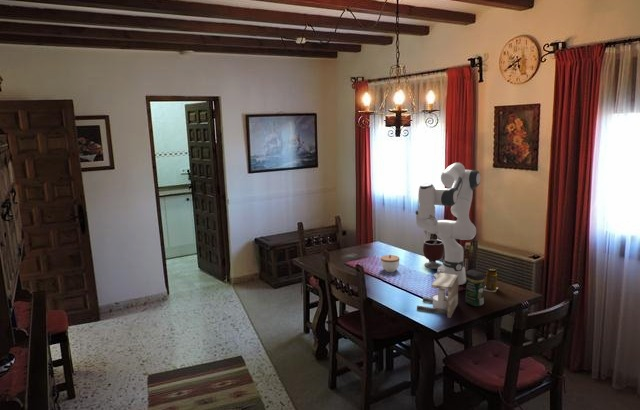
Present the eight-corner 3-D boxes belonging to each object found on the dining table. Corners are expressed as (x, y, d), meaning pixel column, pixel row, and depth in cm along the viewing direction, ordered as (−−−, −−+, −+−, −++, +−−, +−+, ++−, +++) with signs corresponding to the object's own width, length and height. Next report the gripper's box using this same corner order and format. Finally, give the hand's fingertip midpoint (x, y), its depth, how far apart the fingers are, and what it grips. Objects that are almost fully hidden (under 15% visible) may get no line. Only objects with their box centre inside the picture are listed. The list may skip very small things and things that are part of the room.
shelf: (415, 312, 233) (415, 282, 230) (424, 298, 251) (425, 271, 248) (450, 317, 225) (451, 287, 222) (457, 303, 242) (458, 275, 239)
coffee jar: (462, 302, 244) (463, 270, 241) (472, 299, 248) (473, 267, 245) (475, 308, 236) (476, 275, 233) (486, 304, 239) (487, 272, 236)
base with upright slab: (449, 312, 231) (449, 291, 229) (431, 311, 234) (432, 289, 232) (450, 306, 239) (451, 285, 237) (433, 304, 242) (434, 283, 240)
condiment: (498, 287, 263) (499, 268, 261) (495, 292, 256) (496, 272, 254) (485, 285, 267) (486, 266, 265) (482, 290, 260) (483, 270, 258)
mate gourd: (421, 262, 315) (421, 235, 312) (440, 262, 315) (441, 235, 311) (425, 269, 300) (426, 241, 296) (446, 269, 299) (446, 240, 296)
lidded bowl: (379, 273, 297) (379, 257, 295) (381, 267, 309) (381, 252, 307) (398, 273, 294) (398, 258, 292) (400, 267, 306) (400, 252, 304)
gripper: (441, 216, 232) (441, 241, 235) (424, 209, 252) (424, 232, 254) (430, 218, 231) (431, 243, 234) (413, 210, 250) (414, 234, 253)
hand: (427, 237), depth 244 cm, fingers closed
